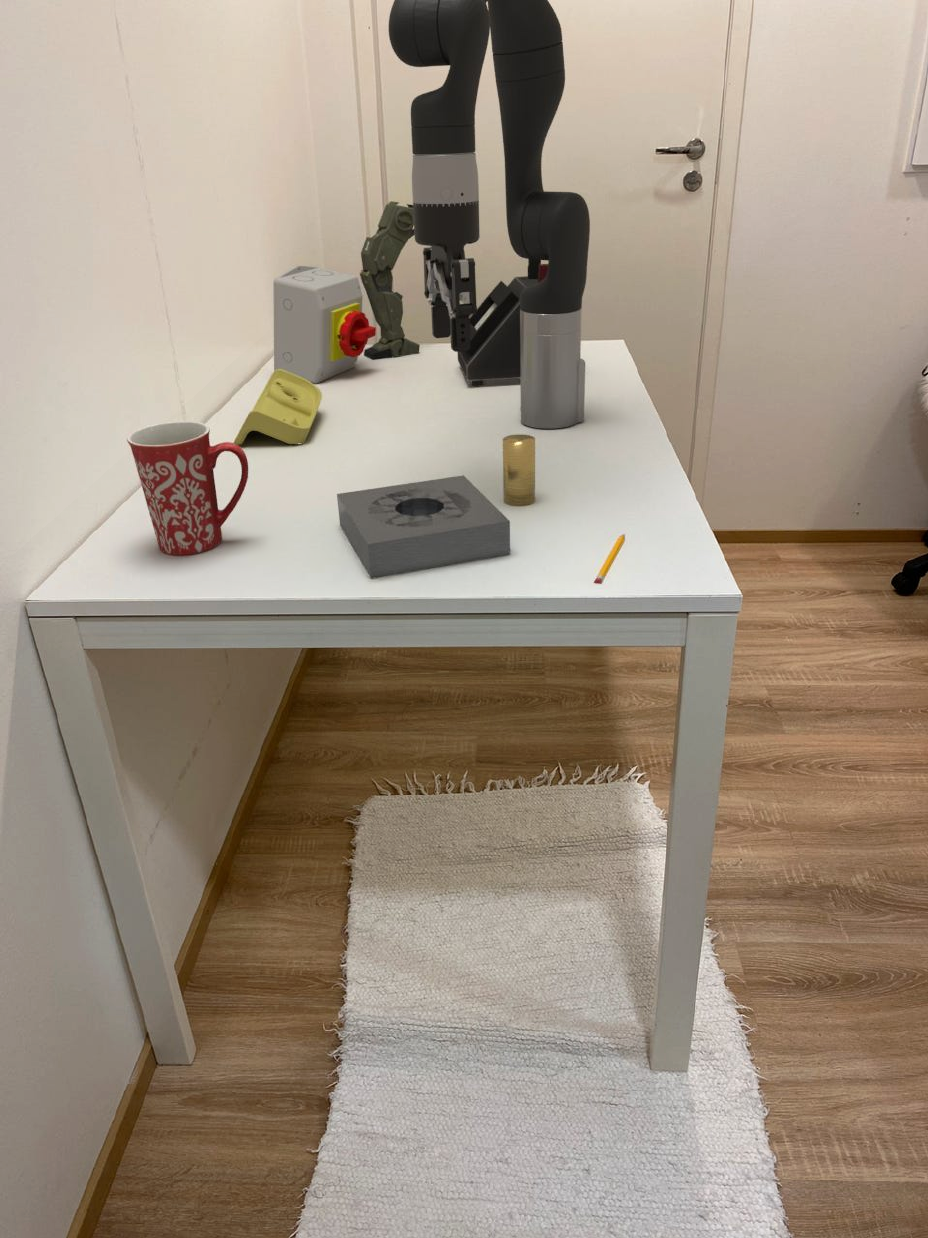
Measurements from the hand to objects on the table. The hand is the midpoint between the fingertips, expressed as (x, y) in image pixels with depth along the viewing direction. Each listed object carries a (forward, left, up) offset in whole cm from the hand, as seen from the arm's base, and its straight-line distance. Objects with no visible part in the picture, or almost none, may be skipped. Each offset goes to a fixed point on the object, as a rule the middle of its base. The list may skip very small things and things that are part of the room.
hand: (450, 343), depth 114 cm
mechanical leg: (-13, -82, -19) cm, 85 cm away
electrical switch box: (+3, -70, -19) cm, 72 cm away
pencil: (-9, +26, -19) cm, 34 cm away
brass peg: (-6, +6, -19) cm, 21 cm away
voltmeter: (-27, -55, -19) cm, 64 cm away
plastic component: (+17, -38, -19) cm, 46 cm away
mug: (+33, +4, -19) cm, 38 cm away
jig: (+9, +13, -19) cm, 25 cm away
